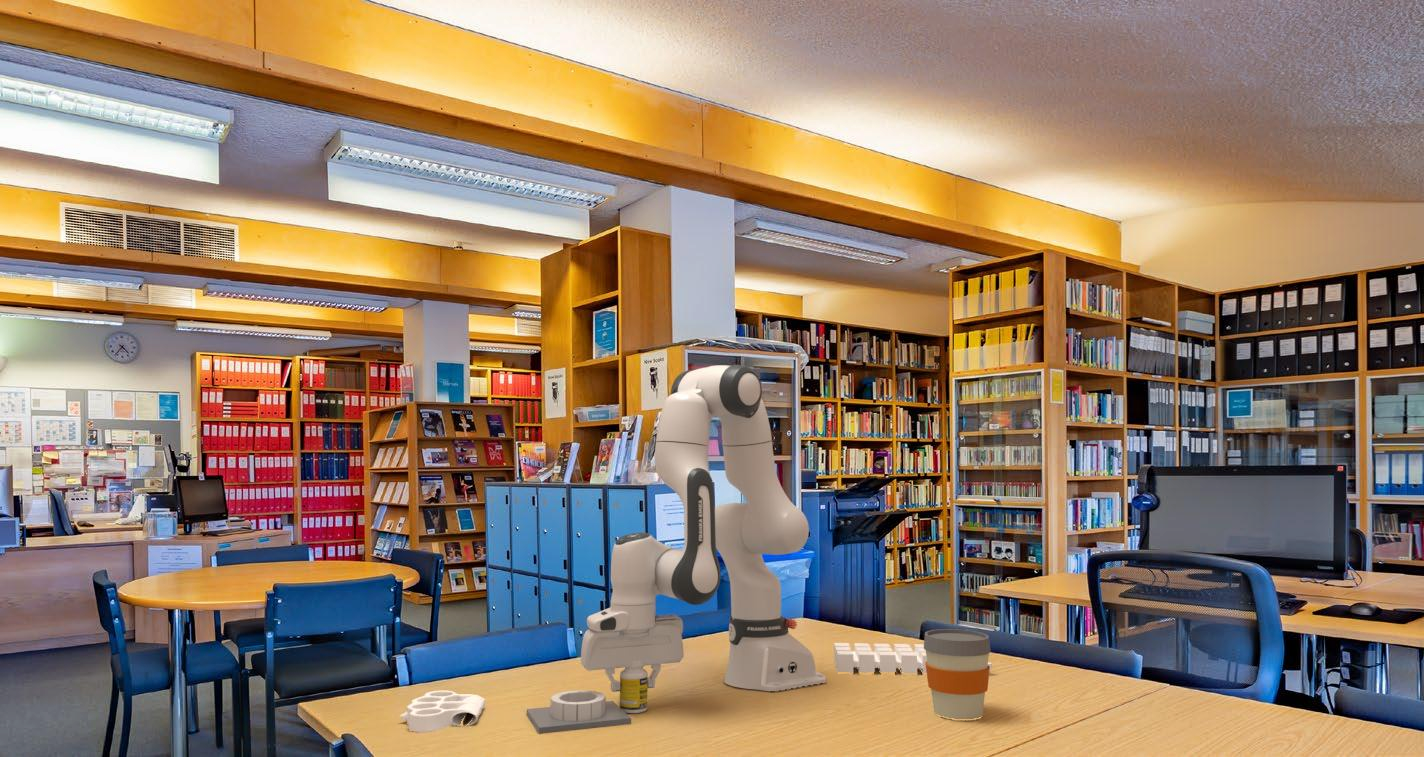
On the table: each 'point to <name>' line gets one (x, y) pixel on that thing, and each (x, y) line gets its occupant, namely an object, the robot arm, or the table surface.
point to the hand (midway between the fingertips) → (632, 689)
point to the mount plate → (577, 712)
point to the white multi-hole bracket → (441, 710)
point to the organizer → (880, 658)
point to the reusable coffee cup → (957, 671)
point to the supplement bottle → (633, 688)
